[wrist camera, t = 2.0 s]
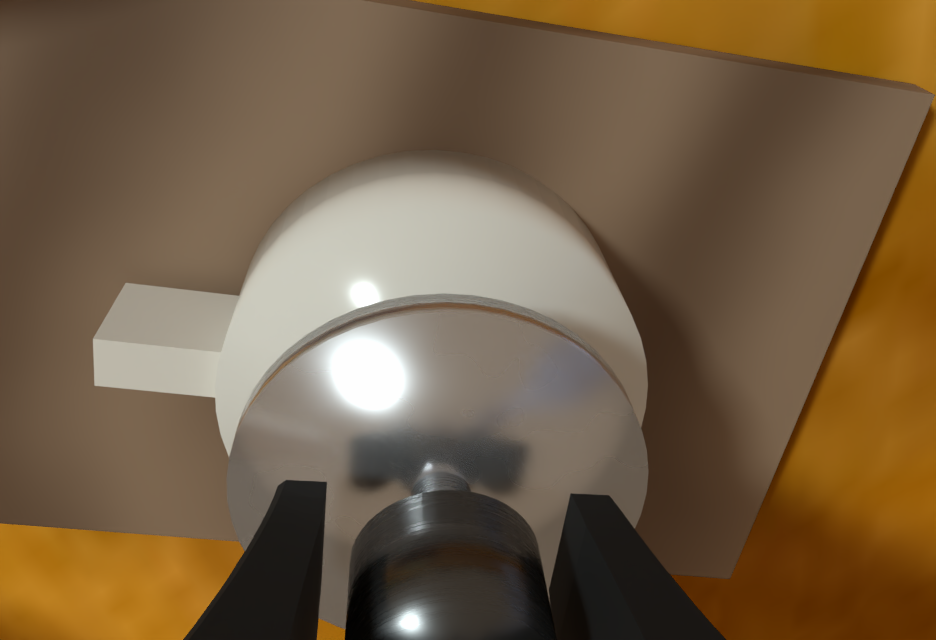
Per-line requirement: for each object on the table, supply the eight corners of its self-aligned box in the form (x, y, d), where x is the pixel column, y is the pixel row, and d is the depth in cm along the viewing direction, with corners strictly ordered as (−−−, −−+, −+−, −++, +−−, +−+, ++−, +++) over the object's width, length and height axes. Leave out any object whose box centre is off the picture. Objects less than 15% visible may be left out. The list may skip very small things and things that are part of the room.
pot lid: (688, 321, 14) (798, 506, 10) (587, 628, 17) (641, 855, 13) (242, 267, 13) (179, 451, 9) (224, 603, 16) (171, 841, 12)
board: (913, 84, 18) (934, 94, 17) (720, 557, 24) (729, 578, 24) (-153, -94, 15) (-179, -89, 14) (-65, 494, 21) (-81, 517, 21)
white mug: (656, 180, 18) (701, 241, 15) (567, 489, 22) (591, 581, 19) (129, 104, 16) (77, 158, 14) (132, 450, 20) (94, 544, 18)
